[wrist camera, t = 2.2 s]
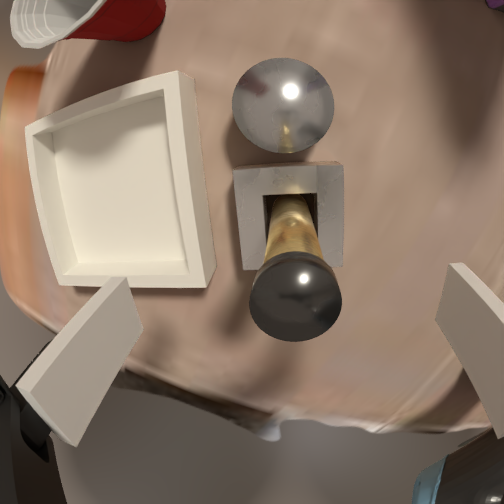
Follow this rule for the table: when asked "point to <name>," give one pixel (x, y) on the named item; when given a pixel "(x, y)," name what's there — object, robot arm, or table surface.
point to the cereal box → (496, 4)
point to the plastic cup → (83, 20)
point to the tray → (125, 187)
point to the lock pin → (294, 277)
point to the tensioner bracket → (286, 141)
